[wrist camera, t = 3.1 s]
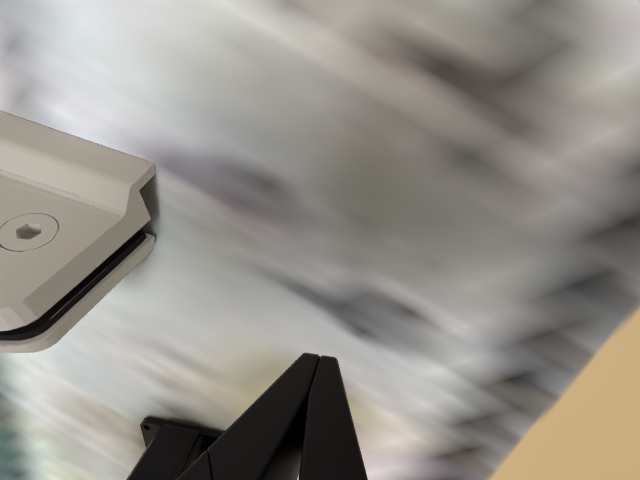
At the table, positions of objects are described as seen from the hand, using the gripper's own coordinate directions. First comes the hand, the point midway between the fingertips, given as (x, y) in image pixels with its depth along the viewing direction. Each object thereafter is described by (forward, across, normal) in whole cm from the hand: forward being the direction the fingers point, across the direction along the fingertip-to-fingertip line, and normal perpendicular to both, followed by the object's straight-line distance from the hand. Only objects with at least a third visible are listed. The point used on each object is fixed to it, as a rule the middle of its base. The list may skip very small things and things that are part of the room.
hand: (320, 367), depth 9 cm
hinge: (+10, +18, 0) cm, 21 cm away
